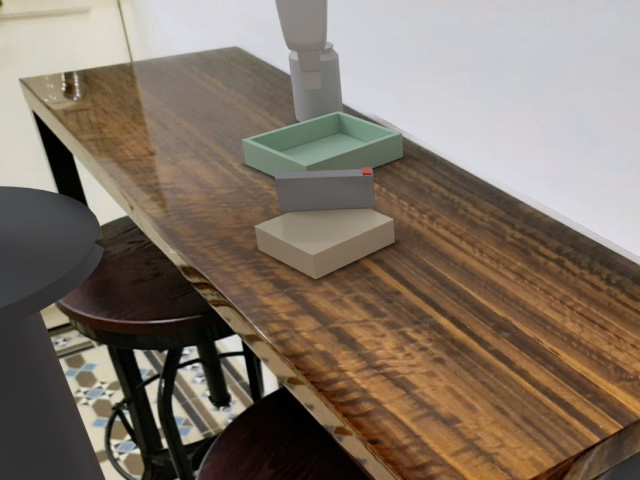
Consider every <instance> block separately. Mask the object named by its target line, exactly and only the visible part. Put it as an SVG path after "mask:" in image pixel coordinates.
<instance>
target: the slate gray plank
mask: <svg viewBox="0 0 640 480" xmlns="http://www.w3.org/2000/svg"><path fill="white" fill-rule="evenodd" d="M374 179H375V178H374V171H373V168H372V169H371V168H370V167H366V168H362V169H353V170H324V171H295V172H276V174H275V177H274V182H275V190H276V194H277V195H276V196H277V203H278V211H279V212H291V211H303V210H326V209H349V208H369V209H371V208H376V199H375V196H376V195H375V182H374V181H375V180H374Z"/></svg>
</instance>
